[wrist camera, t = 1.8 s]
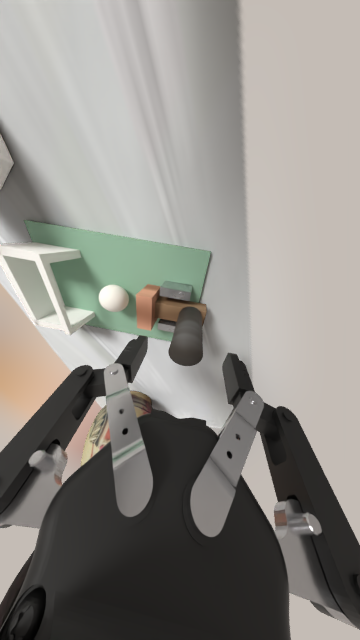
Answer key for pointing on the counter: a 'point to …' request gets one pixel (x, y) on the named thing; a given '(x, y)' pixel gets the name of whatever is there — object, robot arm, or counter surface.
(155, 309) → the wooden peg with knob
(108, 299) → the ball
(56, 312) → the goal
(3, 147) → the jar
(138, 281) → the pitch mat
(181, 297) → the bracket
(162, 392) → the counter surface
